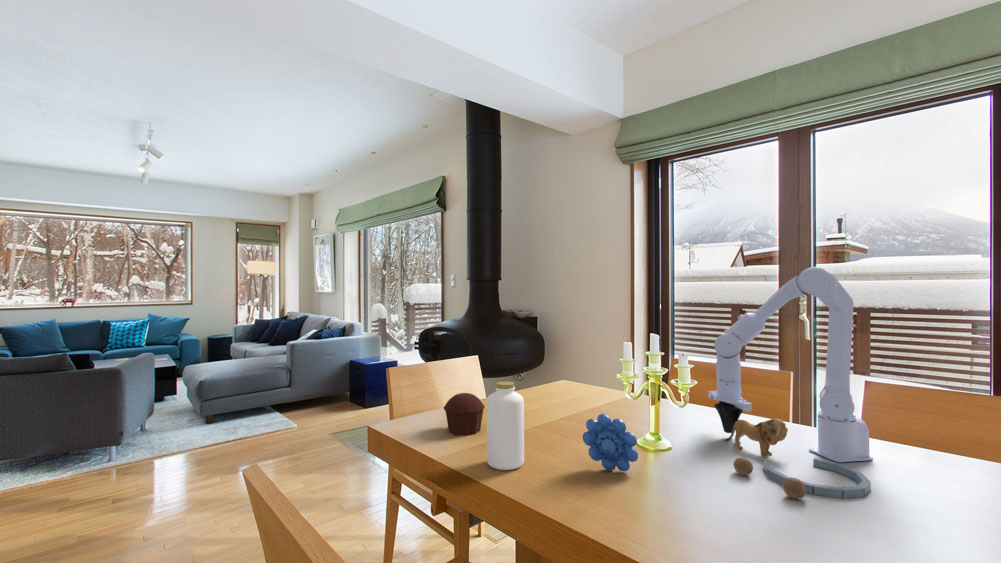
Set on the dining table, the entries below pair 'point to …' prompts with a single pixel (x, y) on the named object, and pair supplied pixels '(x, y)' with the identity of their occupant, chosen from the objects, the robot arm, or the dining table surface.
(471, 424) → the muffin
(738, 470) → the walnut bead
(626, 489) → the dining table surface
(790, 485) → the walnut bead
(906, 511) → the dining table surface
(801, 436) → the dining table surface
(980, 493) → the dining table surface
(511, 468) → the white bottle
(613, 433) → the blue flower
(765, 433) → the lion figurine
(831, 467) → the groove ring
